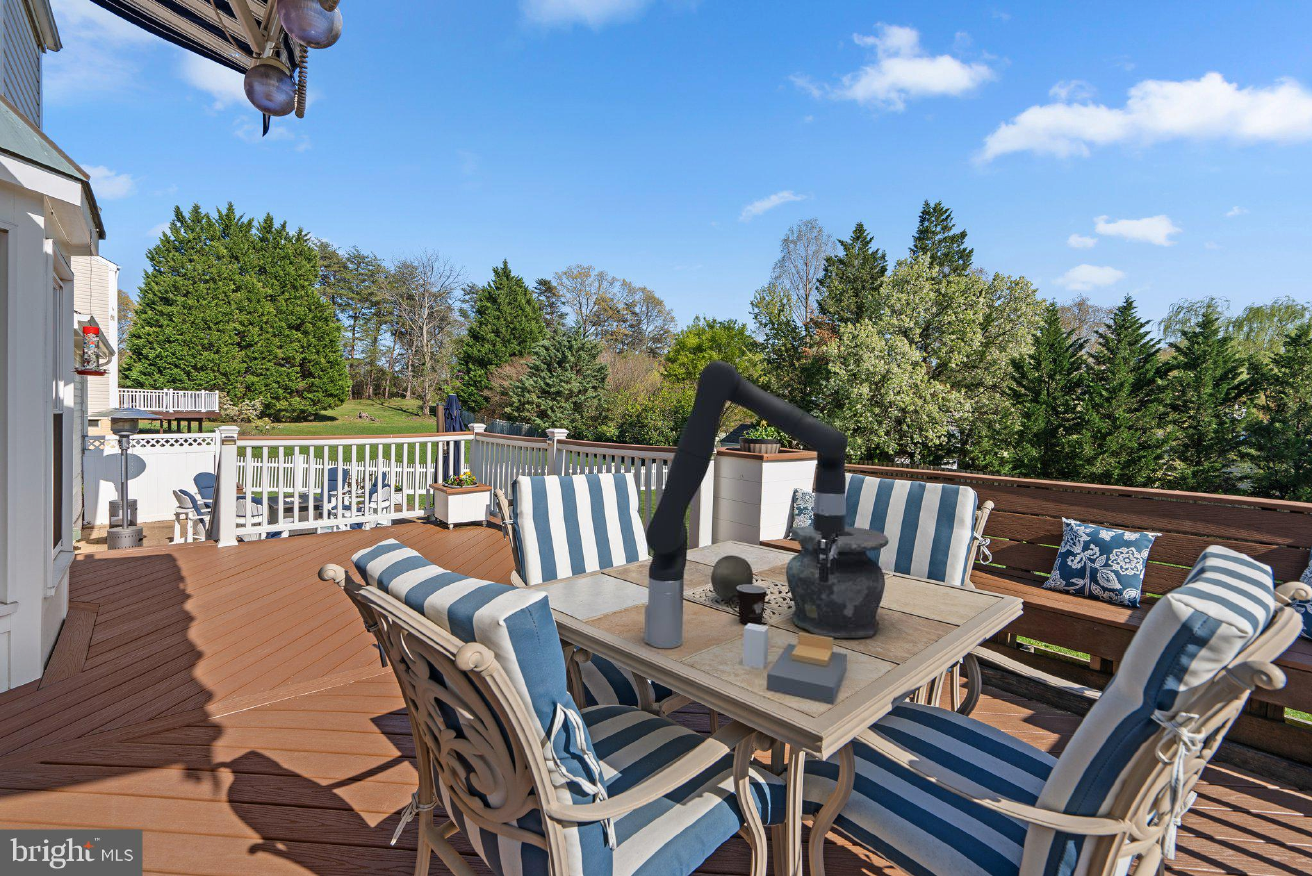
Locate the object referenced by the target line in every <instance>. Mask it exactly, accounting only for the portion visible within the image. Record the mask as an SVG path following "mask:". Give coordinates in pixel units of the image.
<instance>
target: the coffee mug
mask: <svg viewBox="0 0 1312 876" xmlns="http://www.w3.org/2000/svg"><path fill="white" fill-rule="evenodd" d="M766 596H767V588H766V587H764V586H762V585H757V584H752V585H740V586H737V595H732V596H731V597H730V598H729V601H727V604H728V607H729V608H730V609H731V610H732V611H733V612H735V613H737V614H738V617H739V618H738V619H739V623H740V624H742V626H746V625H747V624H748V623H751V624H757V625H762V623H763V618H764V617H763V616H764V611H765V610H764V609H765V602H766ZM733 597H737V598H738V600H737V606H738V607H737V608H738V610H737V609H735V608H734V607H733V606H732V604H731V602H730V601H731V599H732V598H733Z"/></svg>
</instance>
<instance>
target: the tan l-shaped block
mask: <svg viewBox="0 0 1312 876" xmlns="http://www.w3.org/2000/svg"><path fill="white" fill-rule="evenodd" d="M796 645H797V646H796V648H795V649H794V651H793V652H792V654H791V660H796V661H801V662H806V663H811V664H816V665H821V666H826V667H827V666H828V663H829V661H830V659H831V657H832V655H833V652H834V638H833V637H825V636H818V635H816V634H814V633H807V632H798V634H797V644H796Z"/></svg>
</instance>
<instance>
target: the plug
mask: <svg viewBox="0 0 1312 876" xmlns="http://www.w3.org/2000/svg"><path fill="white" fill-rule="evenodd" d="M769 629H770V627H769V625H768V626H767V625H762V624H761V625H757V624H751V623H748V624H747V625H744V627H743V643H742V646H743V647H742V666H744V667H748V668H749V667H750V668H753V669H754V668H755V669H759V670H764V669H765V668H766V667H767V665H768V662H769Z"/></svg>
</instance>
